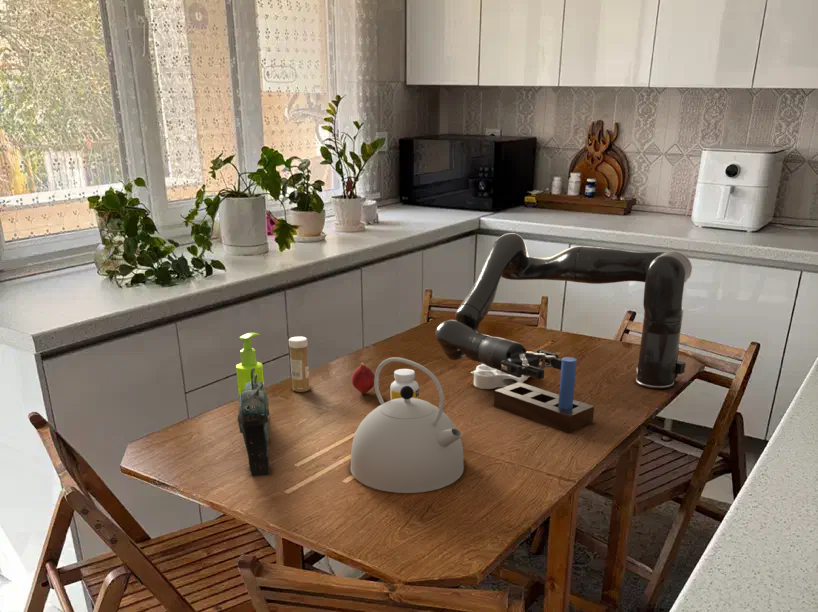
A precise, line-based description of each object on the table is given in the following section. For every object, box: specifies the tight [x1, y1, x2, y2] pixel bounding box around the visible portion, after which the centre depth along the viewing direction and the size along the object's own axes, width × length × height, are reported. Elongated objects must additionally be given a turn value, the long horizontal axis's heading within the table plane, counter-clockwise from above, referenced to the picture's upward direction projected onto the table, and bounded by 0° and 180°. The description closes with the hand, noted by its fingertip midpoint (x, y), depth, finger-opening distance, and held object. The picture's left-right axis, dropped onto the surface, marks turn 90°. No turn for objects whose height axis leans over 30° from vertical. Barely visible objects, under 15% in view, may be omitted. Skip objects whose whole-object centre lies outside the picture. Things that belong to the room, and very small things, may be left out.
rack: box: [493, 382, 595, 434], centre depth 182 cm, size 9×22×4 cm, turn 42°
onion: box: [351, 362, 375, 395], centre depth 194 cm, size 6×6×8 cm
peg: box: [558, 356, 578, 411], centre depth 175 cm, size 3×3×15 cm
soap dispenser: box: [235, 331, 265, 395], centre depth 177 cm, size 6×7×20 cm
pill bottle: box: [389, 368, 420, 400], centre depth 177 cm, size 6×6×12 cm
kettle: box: [350, 356, 465, 494], centre depth 152 cm, size 25×23×22 cm
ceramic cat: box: [237, 368, 271, 476], centre depth 157 cm, size 20×6×20 cm, turn 9°
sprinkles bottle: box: [288, 335, 311, 393], centre depth 196 cm, size 5×5×13 cm
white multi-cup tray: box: [470, 363, 531, 390], centre depth 204 cm, size 3×18×15 cm
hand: (555, 370), depth 176 cm, fingers open, 8 cm apart
